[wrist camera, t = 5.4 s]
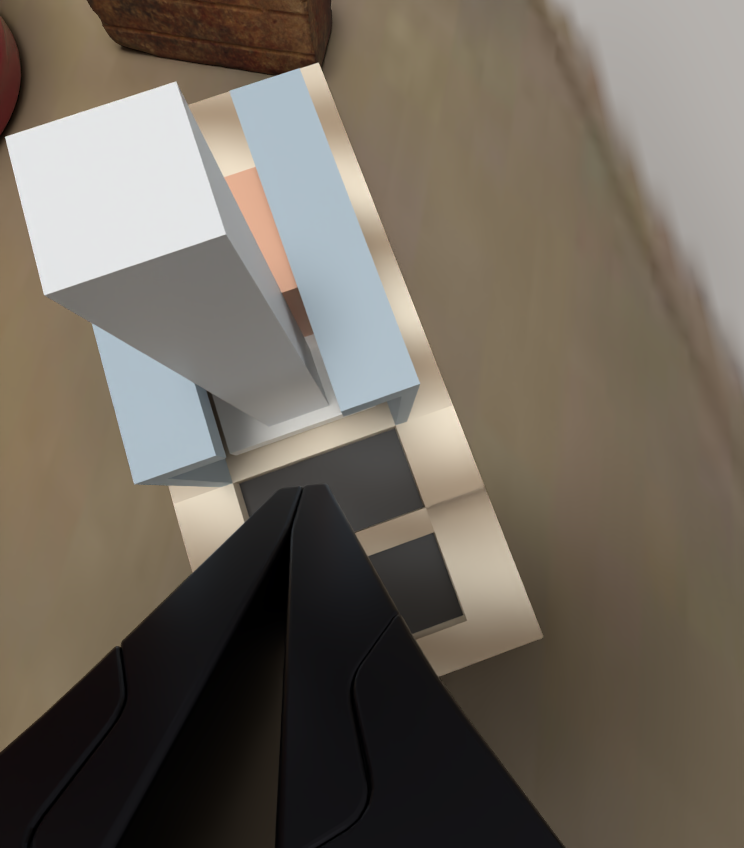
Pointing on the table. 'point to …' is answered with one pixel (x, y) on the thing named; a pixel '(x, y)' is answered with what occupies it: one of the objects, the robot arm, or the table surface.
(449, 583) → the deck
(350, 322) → the light blue blocks
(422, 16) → the table surface
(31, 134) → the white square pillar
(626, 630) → the table surface
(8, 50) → the canister
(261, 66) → the brick
